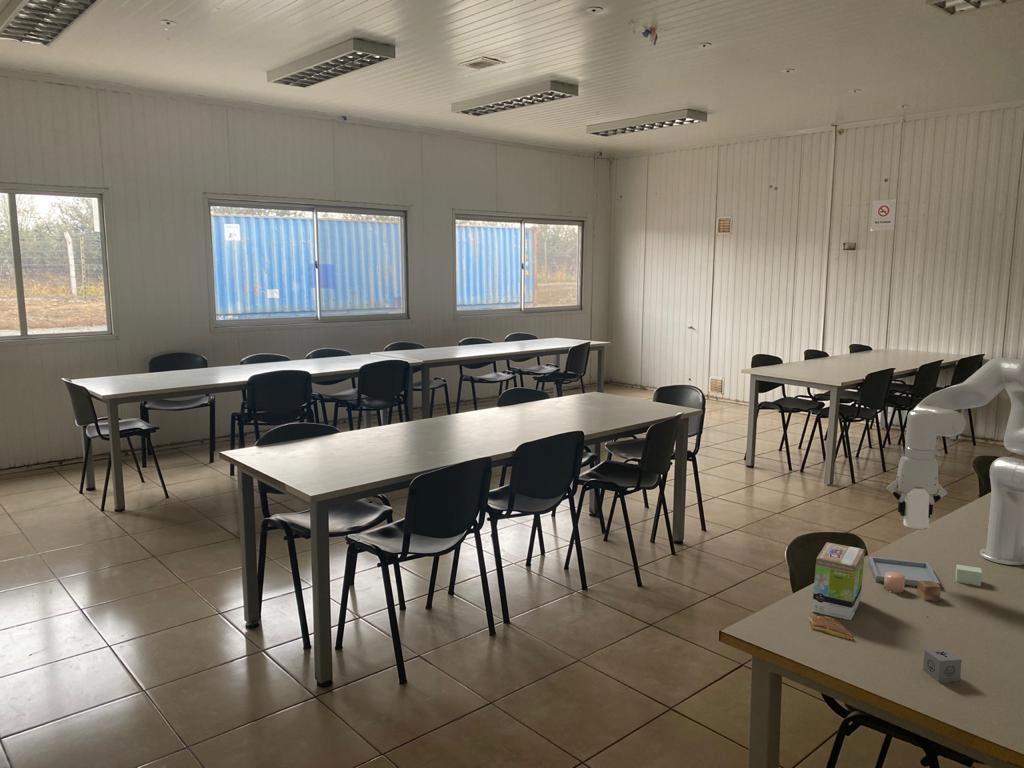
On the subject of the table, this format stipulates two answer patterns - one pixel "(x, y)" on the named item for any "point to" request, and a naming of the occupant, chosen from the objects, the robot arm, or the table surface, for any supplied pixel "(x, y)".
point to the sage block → (968, 575)
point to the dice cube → (942, 665)
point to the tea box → (838, 580)
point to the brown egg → (894, 582)
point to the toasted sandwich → (829, 626)
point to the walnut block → (928, 590)
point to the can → (917, 509)
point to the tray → (902, 570)
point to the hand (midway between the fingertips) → (914, 515)
